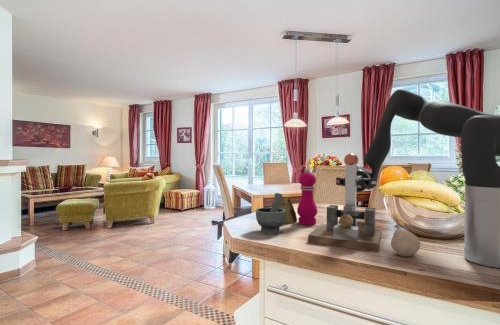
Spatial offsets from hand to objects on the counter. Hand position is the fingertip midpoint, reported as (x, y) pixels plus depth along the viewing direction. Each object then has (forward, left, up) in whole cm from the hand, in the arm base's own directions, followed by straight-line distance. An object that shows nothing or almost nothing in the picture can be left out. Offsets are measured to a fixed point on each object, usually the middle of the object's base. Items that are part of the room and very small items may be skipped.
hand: (351, 183), depth 86 cm
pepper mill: (+17, -12, -16) cm, 27 cm away
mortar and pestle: (+24, +4, -16) cm, 29 cm away
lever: (0, +3, -13) cm, 14 cm away
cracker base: (+1, +4, -16) cm, 16 cm away
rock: (+26, -10, -16) cm, 32 cm away
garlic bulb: (-14, +12, -16) cm, 24 cm away
